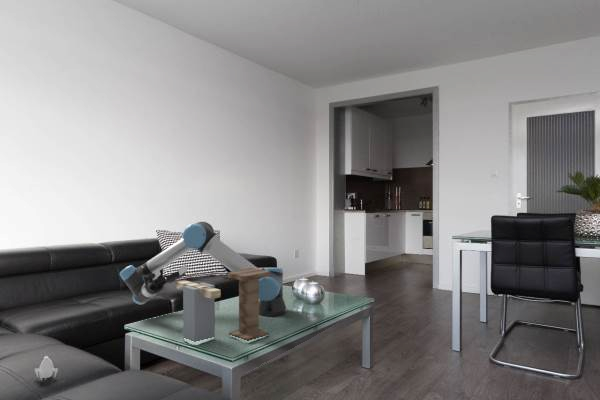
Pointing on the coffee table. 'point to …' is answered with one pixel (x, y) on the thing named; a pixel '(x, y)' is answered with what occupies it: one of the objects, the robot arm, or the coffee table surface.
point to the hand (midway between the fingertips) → (173, 269)
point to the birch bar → (200, 289)
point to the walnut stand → (248, 303)
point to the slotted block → (198, 314)
